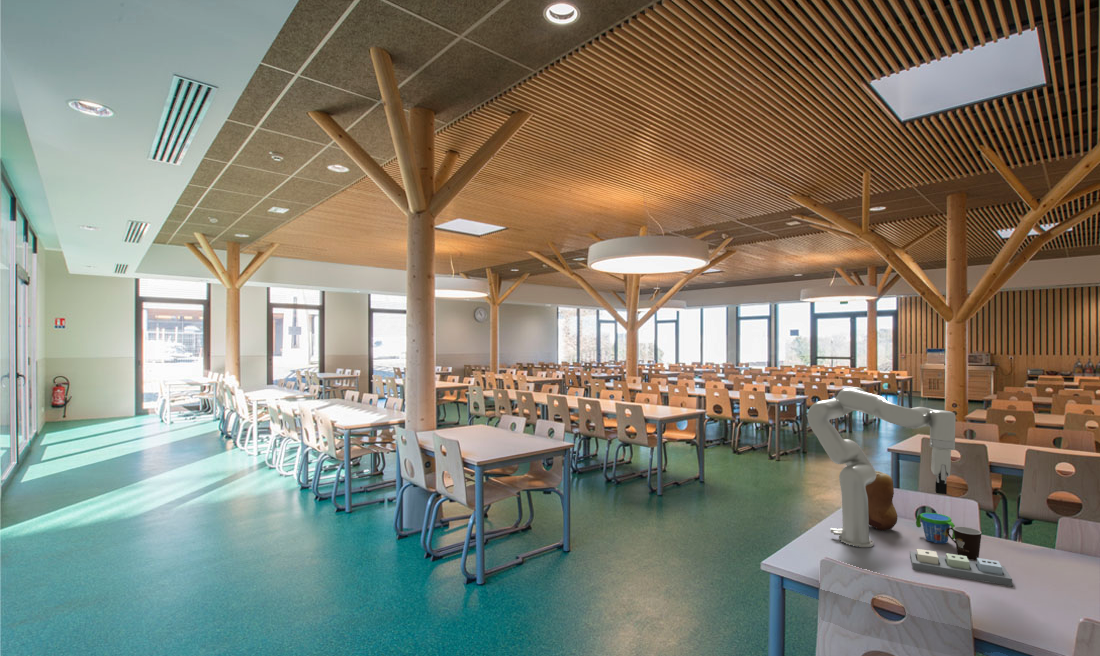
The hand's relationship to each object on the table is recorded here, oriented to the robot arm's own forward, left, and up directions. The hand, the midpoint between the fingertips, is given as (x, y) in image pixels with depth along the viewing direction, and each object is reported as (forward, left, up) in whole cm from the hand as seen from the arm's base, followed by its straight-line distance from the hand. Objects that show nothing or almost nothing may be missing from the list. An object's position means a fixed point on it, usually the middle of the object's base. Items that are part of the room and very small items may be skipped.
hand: (940, 493), depth 196 cm
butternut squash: (-19, +35, -27) cm, 48 cm away
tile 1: (-5, -2, -26) cm, 27 cm away
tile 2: (+13, -2, -26) cm, 29 cm away
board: (+4, -2, -27) cm, 27 cm away
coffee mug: (+9, +17, -27) cm, 33 cm away
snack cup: (+1, +29, -27) cm, 40 cm away
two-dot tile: (+4, -2, -26) cm, 27 cm away
